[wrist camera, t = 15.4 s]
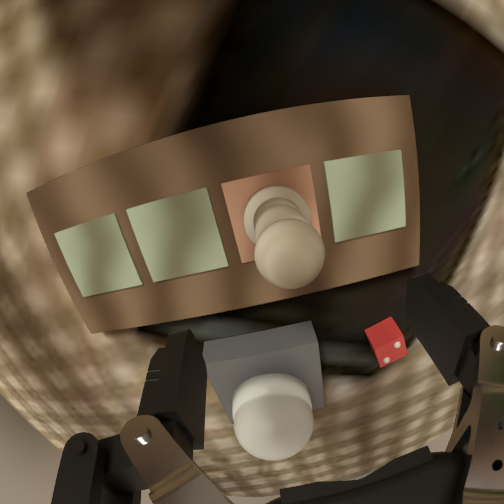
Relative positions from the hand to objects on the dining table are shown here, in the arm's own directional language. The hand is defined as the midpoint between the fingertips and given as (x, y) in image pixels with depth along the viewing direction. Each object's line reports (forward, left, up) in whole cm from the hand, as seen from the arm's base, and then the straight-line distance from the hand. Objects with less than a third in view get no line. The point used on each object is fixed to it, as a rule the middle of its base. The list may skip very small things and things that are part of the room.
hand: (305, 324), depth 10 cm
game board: (-3, 0, -13) cm, 14 cm away
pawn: (0, 0, -12) cm, 12 cm away
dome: (-3, -16, -10) cm, 19 cm away
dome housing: (-3, -16, -13) cm, 21 cm away
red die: (+9, -15, -13) cm, 22 cm away
